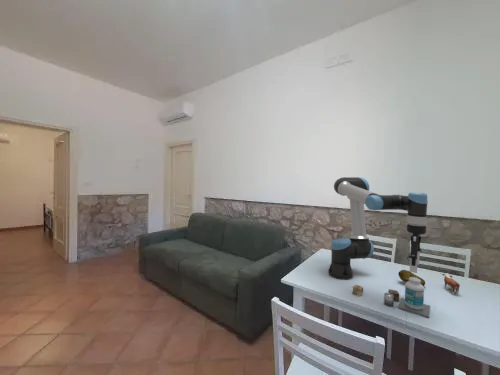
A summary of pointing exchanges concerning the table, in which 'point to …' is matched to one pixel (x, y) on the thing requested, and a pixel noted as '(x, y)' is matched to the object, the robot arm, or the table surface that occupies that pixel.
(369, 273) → the table surface
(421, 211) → the robot arm
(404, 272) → the potato
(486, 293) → the table surface
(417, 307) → the pill bottle
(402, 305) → the coaster
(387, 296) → the grey egg shape
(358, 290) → the beech cube
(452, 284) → the bull figurine
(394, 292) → the walnut cube
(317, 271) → the table surface
